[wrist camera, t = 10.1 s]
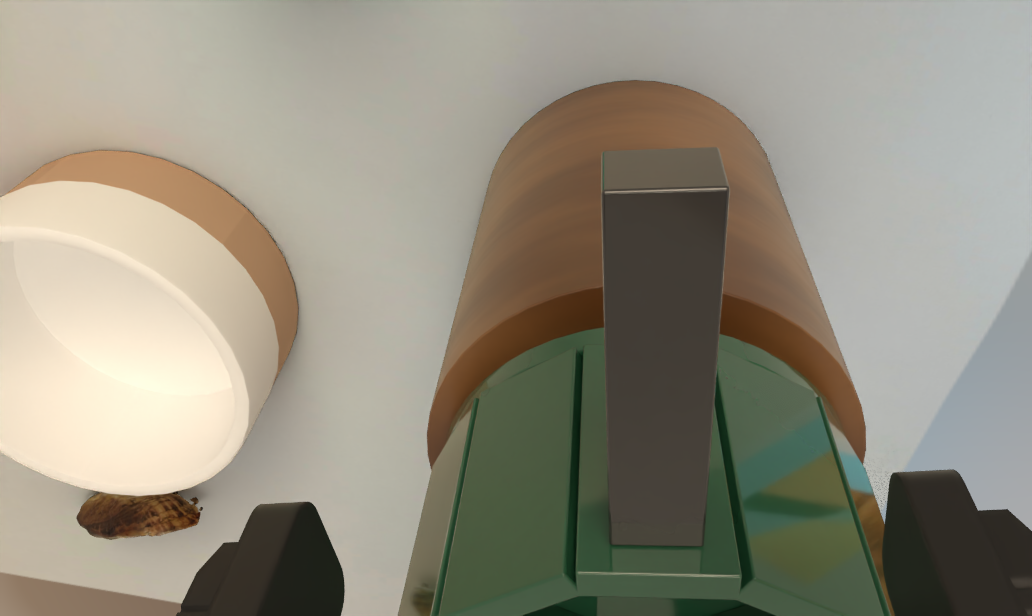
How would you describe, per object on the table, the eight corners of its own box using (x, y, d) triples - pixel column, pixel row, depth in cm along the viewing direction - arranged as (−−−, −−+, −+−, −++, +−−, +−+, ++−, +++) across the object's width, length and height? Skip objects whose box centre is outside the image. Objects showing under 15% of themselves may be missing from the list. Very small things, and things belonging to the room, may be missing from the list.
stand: (458, 101, 41) (379, 305, 26) (778, 59, 38) (883, 258, 24) (511, 347, 49) (471, 604, 35) (777, 325, 46) (853, 592, 32)
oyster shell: (153, 464, 64) (210, 483, 56) (155, 513, 64) (212, 538, 57) (67, 478, 60) (117, 501, 52) (70, 530, 60) (119, 560, 52)
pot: (823, 616, 31) (889, 886, 24) (464, 606, 33) (424, 857, 26) (948, 16, 19) (1162, 196, 12) (364, 46, 21) (232, 222, 13)
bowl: (323, 207, 45) (272, 294, 38) (278, 429, 54) (231, 530, 48) (-4, 104, 43) (-120, 175, 36) (9, 352, 53) (-80, 446, 46)
